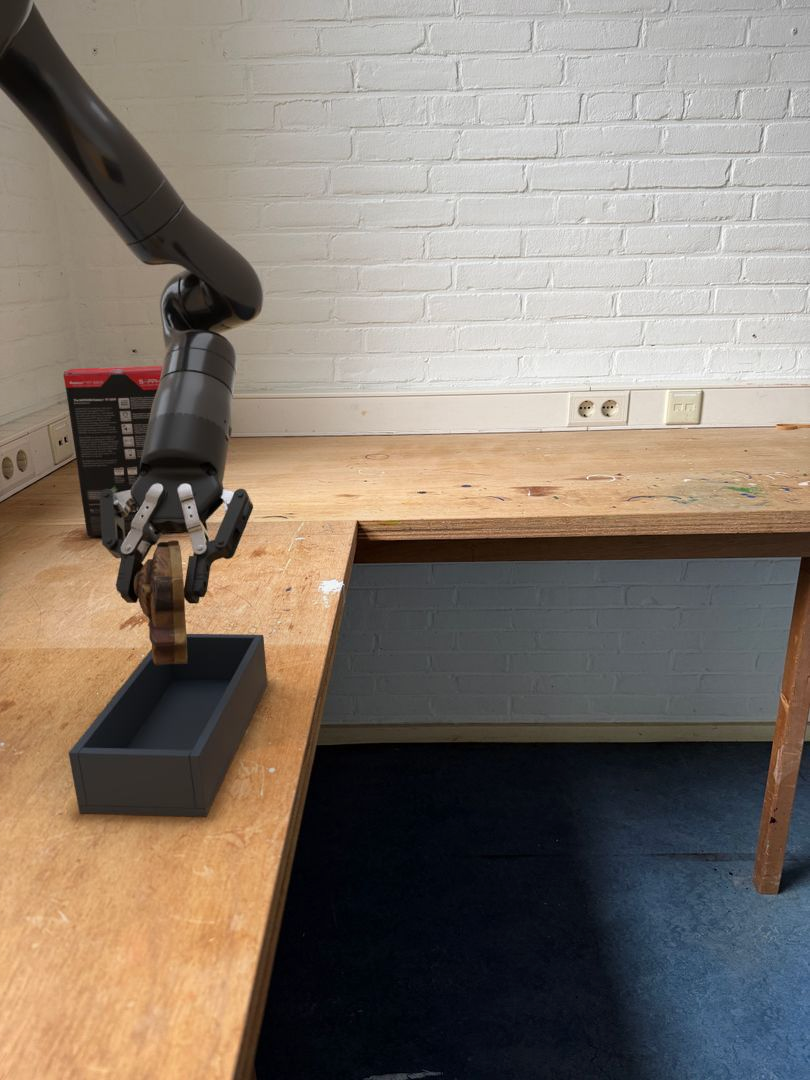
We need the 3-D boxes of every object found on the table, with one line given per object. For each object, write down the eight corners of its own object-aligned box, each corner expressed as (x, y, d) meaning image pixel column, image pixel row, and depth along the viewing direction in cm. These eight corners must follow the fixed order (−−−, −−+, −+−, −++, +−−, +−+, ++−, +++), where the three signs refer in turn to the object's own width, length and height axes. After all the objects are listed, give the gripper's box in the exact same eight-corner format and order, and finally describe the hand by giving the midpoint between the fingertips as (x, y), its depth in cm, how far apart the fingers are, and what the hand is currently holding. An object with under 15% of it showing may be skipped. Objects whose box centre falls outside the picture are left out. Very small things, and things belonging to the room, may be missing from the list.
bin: (79, 813, 65) (67, 752, 63) (170, 682, 85) (163, 633, 84) (206, 817, 64) (199, 755, 62) (267, 683, 85) (263, 634, 83)
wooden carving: (141, 623, 79) (122, 527, 75) (188, 612, 80) (171, 518, 77) (156, 703, 64) (133, 589, 61) (214, 689, 66) (194, 577, 62)
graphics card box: (196, 520, 140) (179, 362, 131) (193, 533, 133) (174, 367, 124) (94, 527, 137) (69, 366, 128) (86, 540, 131) (59, 372, 122)
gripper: (99, 410, 73) (58, 583, 65) (254, 408, 72) (230, 584, 64) (130, 453, 79) (96, 614, 72) (272, 452, 78) (252, 616, 71)
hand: (159, 599), depth 68 cm, fingers closed on wooden carving, 5 cm apart
